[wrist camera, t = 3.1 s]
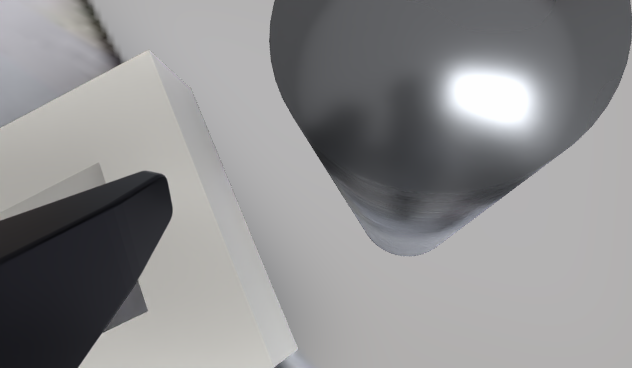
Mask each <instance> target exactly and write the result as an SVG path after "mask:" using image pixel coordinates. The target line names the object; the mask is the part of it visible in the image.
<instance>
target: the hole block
mask: <svg viewBox="0 0 632 368" xmlns="http://www.w3.org/2000/svg"><path fill="white" fill-rule="evenodd" d="M140 171H152V172H156V173H161V174H163V175H165V177H166V178H167V181H168V185H169V190H170V196H171V201H172V206H173V213H172V218H171V220H170V222H169V224H168V226H167V228H166V230H165V231H164V233H163V235H162V237H161V239H160V241H159V243H158V244H157V246H156V248H155V250H154V252H153V254H152V255H151V257H150V259H149V261H148V263H147V265H146V266H145V268H144V270H143V272H142V274H141V275H140V277H139V279H138V282H139V285H140V288H141V291H142V294H143V297H144V300H145V303H146V306H147V309H148V311H147V312H145V313H143V314H141V315H139V316H137V317H135V318H133V319H131V320H128V321H126V322H124V323H122V324H120V325H118V326H116V327H114V328H112V329H110V330H108V331H106V332H104V333H102V334H101V335H100V337H99V338H98V340H97V341H96V343H95V344H94V346H93V347H92V348H91V350H90V351H89V353H88V354H87V356H86V357H85V359H84V360H83V361H82V363H81V364H80V366H79V367H78V368H273V367H275V366H276V365H278V364H279V363H280V362H282V361H283V360H284V359H286V358H287V357H289V356H290V355H291V354H293V353H294V352H295V351H297V350H298V347H297V345H296V342H295V340H294V337H293V335H292V332H291V330H290V328H289V325H288V323H287V320H286V318H285V316H284V313H283V311H282V308H281V306H280V304H279V301H278V299H277V296H276V294H275V291H274V289H273V286H272V284H271V282H270V279H269V277H268V274H267V272H266V269H265V267H264V265H263V262H262V260H261V257H260V255H259V253H258V250H257V248H256V245H255V243H254V241H253V238H252V235H251V233H250V231H249V228H248V226H247V223H246V221H245V219H244V216H243V214H242V211H241V209H240V206H239V204H238V202H237V199H236V197H235V194H234V192H233V189H232V187H231V184H230V182H229V180H228V177H227V175H226V173H225V170H224V168H223V165H222V163H221V161H220V158H219V155H218V153H217V151H216V148H215V146H214V143H213V141H212V139H211V136H210V134H209V131H208V129H207V126H206V124H205V122H204V119H203V117H202V114H201V112H200V110H199V107H198V104H197V102H196V100H195V97H194V95H193V93H192V90H191V88H190V87H189V86H188V85H187V84H186V83H184V81H182V80H181V79H180V78H179V77H178V76H177V75H176V74H175V73H174V72H173V71H172V70H170V69H169V68H168V67H167V66H166V65H165V64H164V63H163V62H162V61H161V60H160V59H159V58H158V57H157V56H155V54H153V53H152V52H151V51H150V50H147V51H145V52H143V53H142V54H140V55H137V56H136V57H134V58H132V59H130V60H128V61H126V62H124V63H122V64H120V65H118V66H117V67H115V68H113V69H111V70H109V71H107V72H105V73H103V74H101V75H100V76H98V77H96V78H94V79H92V80H90V81H88V82H86V83H84V84H82V85H81V86H79V87H77V88H75V89H73V90H71V91H69V92H67V93H65V94H64V95H62V96H60V97H58V98H56V99H54V100H52V101H50V102H48V103H46V104H45V105H43V106H41V107H39V108H37V109H35V110H33V111H31V112H29V113H28V114H26V115H24V116H22V117H20V118H18V119H16V120H14V121H12V122H10V123H9V124H7V125H5V126H3V127H1V128H0V221H1V220H3V219H6V218H9V217H12V216H15V215H18V214H20V213H23V212H26V211H29V210H32V209H35V208H38V207H40V206H43V205H46V204H49V203H52V202H55V201H58V200H60V199H63V198H66V197H69V196H72V195H75V194H77V193H80V192H83V191H86V190H89V189H92V188H95V187H97V186H100V185H103V184H106V183H109V182H112V181H115V180H117V179H120V178H123V177H126V176H129V175H132V174H135V173H137V172H140Z"/></svg>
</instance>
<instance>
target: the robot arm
mask: <svg viewBox="0 0 632 368" xmlns="http://www.w3.org/2000/svg"><path fill="white" fill-rule="evenodd" d="M172 213H173V206H172V201H171V196H170V190H169V185H168V181H167V178H166V177H165V175H163V174H161V173H156V172H152V171H140V172H137V173H135V174H132V175H129V176H126V177H123V178H120V179H117V180H115V181H112V182H109V183H106V184H103V185H100V186H97V187H95V188H92V189H89V190H86V191H83V192H80V193H77V194H75V195H72V196H69V197H66V198H63V199H60V200H58V201H55V202H52V203H49V204H46V205H43V206H40V207H38V208H35V209H32V210H29V211H26V212H23V213H20V214H18V215H15V216H12V217H9V218H6V219H3V220H1V221H0V368H78V367H79V366H80V364H81V363H82V361H83V360H84V359H85V357H86V356H87V354H88V353H89V351H90V350H91V348H92V347H93V346H94V344H95V343H96V341H97V340H98V338H99V337H100V335H101V334H102V332H103V331H104V330H105V328H106V327H107V325H108V324H109V322H110V321H111V319H112V318H113V316H114V315H115V314H116V312H117V311H118V309H119V308H120V306H121V305H122V303H123V302H124V301H125V299H126V298H127V296H128V295H129V293H130V292H131V290H132V289H133V287H134V286H135V284H136V282H137V281H138V279H139V277H140V275H141V274H142V272H143V270H144V268H145V266H146V265H147V263H148V261H149V259H150V257H151V255H152V254H153V252H154V250H155V248H156V246H157V244H158V243H159V241H160V239H161V237H162V235H163V233H164V231H165V230H166V228H167V226H168V224H169V222H170V220H171V218H172Z"/></svg>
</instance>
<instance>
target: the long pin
mask: <svg viewBox="0 0 632 368" xmlns="http://www.w3.org/2000/svg"><path fill="white" fill-rule="evenodd" d="M631 38H632V13H631V5H630V0H275V2H274V6H273V11H272V16H271V21H270V39H269V42H270V55H271V63H272V67H273V72H274V76H275V80H276V83H277V85H278V88H279V91H280V93H281V95H282V98H283V100H284V102H285V103H286V106H287V107H288V109H289V111H290V113H291V114H292V116H293V118H294V119H295V121H296V123H297V124H298V126H299V127H300V129H301V130H302V132H303V134H304V135H305V137H306V138H307V140H308V142H309V143H310V145H311V146H312V148H313V149H314V151H315V153H316V154H317V156H318V157H319V159H320V161H321V162H322V164H323V165H324V167H325V168H326V170H327V172H328V173H329V175H330V176H331V178H332V180H333V181H334V183H335V184H336V186H337V187H338V189H339V191H340V192H341V194H342V195H343V197H344V198H345V200H346V202H347V203H348V205H349V206H350V208H351V209H352V211H353V213H354V214H355V216H356V217H357V219H358V221H359V222H360V224H361V225H362V227H363V229H364V230H365V232H366V233H367V235H368V236H369V237H370V239H371V240H372V241H373V242H374V243H375V244H376V245H377V246H379V247H380V248H382V249H383V250H385V251H387V252H389V253H392V254H395V255H400V256H416V255H420V254H424V253H426V252H429V251H431V250H432V249H434V248H435V247H437V246H438V245H440V244H441V243H442V242H444V241H445V240H446V239H448V238H449V237H450V236H452V235H453V234H454V233H455V232H457V231H458V230H460V229H461V228H462V227H463V226H465V225H466V224H468V223H469V222H470V221H472V220H473V219H474V218H476V217H477V216H478V215H480V214H481V213H482V212H484V211H485V210H486V209H487V208H489V207H490V206H492V205H493V204H494V203H495V202H497V201H498V200H499V199H501V198H502V197H503V196H505V195H506V194H508V193H509V192H510V191H512V190H513V189H514V188H516V187H517V186H518V185H520V184H521V183H522V182H524V181H525V180H526V179H528V178H529V177H530V176H532V175H533V174H534V173H536V172H537V171H538V170H539V169H541V168H542V167H543V166H545V165H546V164H548V163H549V162H550V161H552V160H553V159H554V158H556V157H557V156H558V155H560V154H561V153H562V152H564V151H565V150H566V149H568V148H569V147H570V146H572V145H573V144H574V143H575V142H576V141H577V140H578V139H579V138H580V137H581V136H582V135H583V134H584V133H585V132H587V130H589V128H590V127H592V125H593V124H594V123H595V121H596V120H597V119H598V118H599V116H600V115H601V114H602V112H603V111H604V110H605V108H606V107H607V106H608V104H609V102H610V100H611V99H612V97H613V95H614V93H615V91H616V89H617V88H618V86H619V83H620V81H621V78H622V75H623V72H624V70H625V67H626V64H627V60H628V54H629V50H630V45H631Z"/></svg>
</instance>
